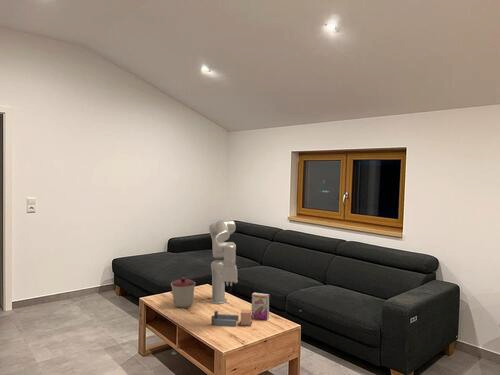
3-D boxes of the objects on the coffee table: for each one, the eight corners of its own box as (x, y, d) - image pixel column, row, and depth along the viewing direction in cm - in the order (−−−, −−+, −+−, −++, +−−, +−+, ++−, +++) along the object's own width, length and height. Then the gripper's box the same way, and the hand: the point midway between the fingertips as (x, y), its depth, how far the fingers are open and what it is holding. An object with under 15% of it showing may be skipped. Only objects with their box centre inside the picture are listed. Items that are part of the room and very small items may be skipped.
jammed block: (242, 321, 257) (242, 309, 257) (251, 321, 256) (251, 309, 256) (240, 324, 251) (240, 312, 251) (249, 325, 250) (249, 313, 250)
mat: (240, 320, 259) (240, 320, 259) (252, 321, 258) (252, 321, 258) (238, 326, 250) (238, 325, 250) (250, 326, 249) (250, 326, 249)
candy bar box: (251, 318, 263) (251, 294, 262) (253, 315, 268) (253, 292, 267) (267, 320, 259) (267, 296, 259) (269, 317, 264) (269, 293, 263)
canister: (199, 306, 286) (199, 278, 285) (177, 311, 275) (177, 282, 274) (188, 299, 300) (188, 272, 300) (166, 304, 290) (166, 276, 289)
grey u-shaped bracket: (215, 318, 262) (215, 310, 262) (238, 320, 260) (238, 312, 259) (211, 325, 251) (211, 316, 251) (235, 326, 249) (235, 318, 249)
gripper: (217, 264, 251) (217, 292, 252) (240, 265, 249) (239, 293, 250) (219, 261, 258) (219, 288, 259) (241, 262, 256) (241, 290, 257)
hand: (229, 291), depth 255 cm, fingers closed
